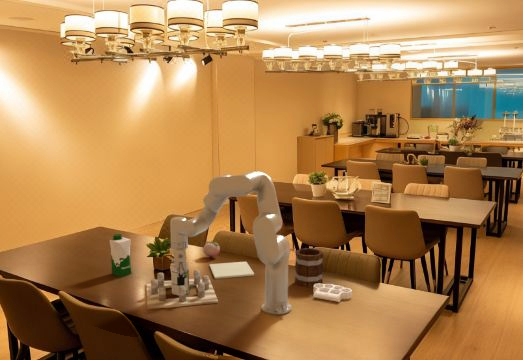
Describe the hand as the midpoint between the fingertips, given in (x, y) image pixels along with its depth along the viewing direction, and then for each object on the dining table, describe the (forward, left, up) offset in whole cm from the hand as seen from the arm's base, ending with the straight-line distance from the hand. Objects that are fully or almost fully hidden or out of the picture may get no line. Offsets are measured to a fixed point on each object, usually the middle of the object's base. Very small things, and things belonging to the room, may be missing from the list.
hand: (180, 281), depth 225 cm
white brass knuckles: (-18, -66, -6) cm, 69 cm away
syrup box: (0, 0, -6) cm, 6 cm away
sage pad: (+25, -28, -6) cm, 38 cm away
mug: (+3, -63, -6) cm, 63 cm away
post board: (0, 0, -6) cm, 6 cm away
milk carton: (+33, +27, -6) cm, 43 cm away
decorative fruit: (+49, -21, -6) cm, 54 cm away
